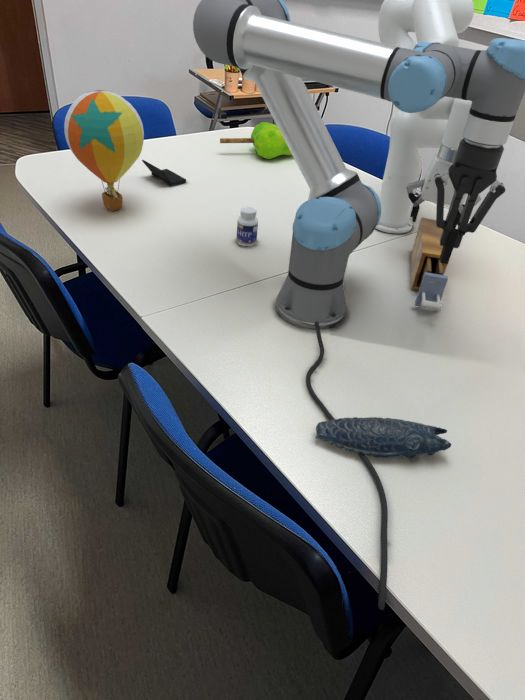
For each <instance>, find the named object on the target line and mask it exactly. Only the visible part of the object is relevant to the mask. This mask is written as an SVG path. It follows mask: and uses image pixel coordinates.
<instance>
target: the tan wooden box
mask: <svg viewBox="0 0 525 700" xmlns="http://www.w3.org/2000/svg"><path fill="white" fill-rule="evenodd" d="M442 231H443V229H442V228H438V227H437V225H436V219H432V218H426V217H420V219H419V224H418V227H417V230H416V234H415V238H414V241H413V245H412V248H411V252H410V253H411V254H410V256H411V259H410V262H411V263H410V269H411V270H410V271H411V272H410V275H411V276H410V277H411V279H410V280H411V281H410V282H411V283H410V285H411V286H410V287H411V290H412V291H417V292H419V276H420V272H421V269H422V266H423V262H424V259H425V256H427V257H433V258H439V259H440V255H441V252H442V248H443V246H440V238H441V234H442ZM442 265H443V275H444V276H445V273H446V270H447V266H448V264H445V263H442Z"/></svg>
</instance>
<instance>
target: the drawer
mask: <svg viewBox="0 0 525 700" xmlns="http://www.w3.org/2000/svg"><path fill="white" fill-rule="evenodd" d="M448 280H449V276H448V275H445V274H444V275H443V265H442V263H440V259H439V258H433V257H427V256H425V259H424V262H423V266H422V269H421V272H420V276H419V291H417V292H418V293H417V296H416V300H415V302H414V306H415V307H419V308H424V309H431V310H436V311H441V310H442V308H443V303H442V302H441V301H442V298H443V294H444V291H445V289H446V286H447V283H448Z"/></svg>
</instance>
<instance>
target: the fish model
mask: <svg viewBox="0 0 525 700" xmlns="http://www.w3.org/2000/svg"><path fill="white" fill-rule="evenodd" d="M315 432H316V436H315V439H316V440H320V441H322V442H325V443H328V444H329V445H331V446H335V447H337V448H338V449H344V450H345V451H348V452H353V453H356V454H358V453H362V454H363V455H365V456H366V457H368V456H370V457H374V458H382V459H383V458H384V459H386V458H387V459H388V458H390V457H391V458H395V457H403V458H404V457H405V458H406V459H414V458H415V456H417V455H418V456H419V455H423V454H426V455H428V456H433V455H434V454H436V453H439V452H441V451H446V450H448V449H450V448H451V446H452V443H451V442H450V441H449V440H447V439H446V438H442V437H441V436H440V435H444V434H447V432H448V430H447V429H446V428H442V427H437V426H433V425H429V424H424V423H422V422H421V423H420V422H416V421H412V420H411V421H410V420H404V419H399V418H391V417H384V418H383V417H377V416H373V417H372V416H371V417H358V416H354V417H342V418H334V420H330V421H329V420H326V421H325V420H324V421H320V422H318V423H317V424H316V426H315Z"/></svg>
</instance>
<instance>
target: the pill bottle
mask: <svg viewBox="0 0 525 700" xmlns="http://www.w3.org/2000/svg"><path fill="white" fill-rule="evenodd" d="M258 229H259V219H258V217H257V209H256V208H255V207H253V206H243V207H241V208H240V215H239V216H238V217H237V223H236V239H235V240H236V242H237V244H238V245H240V246H244V247H252V246H254V245H256V244H257V240H258Z"/></svg>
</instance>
